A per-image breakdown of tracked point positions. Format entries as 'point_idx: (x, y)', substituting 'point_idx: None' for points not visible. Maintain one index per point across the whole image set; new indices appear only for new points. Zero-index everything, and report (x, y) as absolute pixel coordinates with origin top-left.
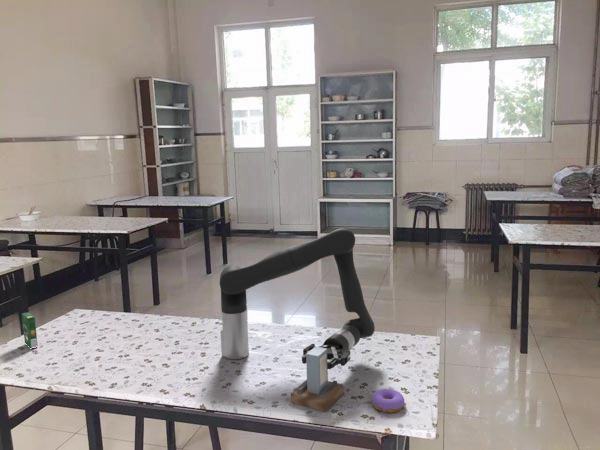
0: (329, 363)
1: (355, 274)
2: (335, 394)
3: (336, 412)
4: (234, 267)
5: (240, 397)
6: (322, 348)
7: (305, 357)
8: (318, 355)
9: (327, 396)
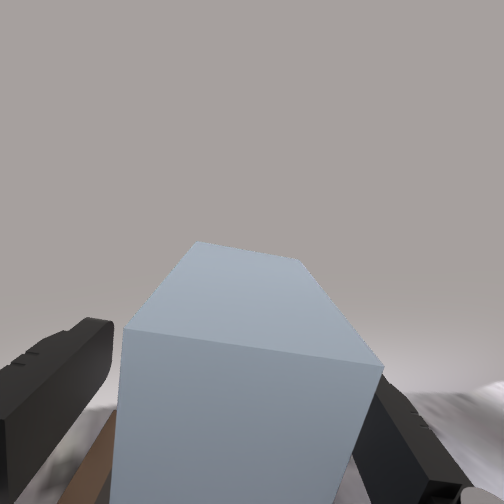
0: (90, 319)
1: None
2: None
3: (53, 462)
4: None
5: (457, 439)
6: (219, 323)
7: None
8: (199, 245)
9: (104, 469)
